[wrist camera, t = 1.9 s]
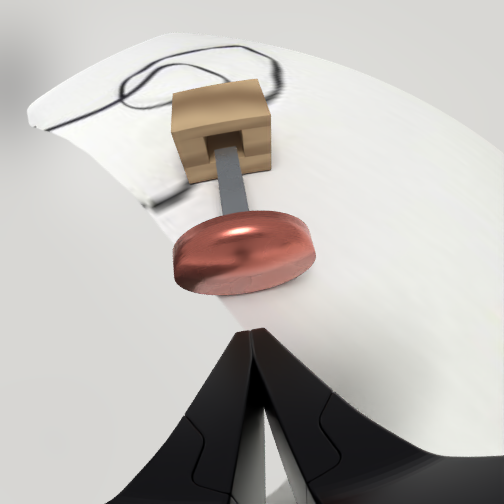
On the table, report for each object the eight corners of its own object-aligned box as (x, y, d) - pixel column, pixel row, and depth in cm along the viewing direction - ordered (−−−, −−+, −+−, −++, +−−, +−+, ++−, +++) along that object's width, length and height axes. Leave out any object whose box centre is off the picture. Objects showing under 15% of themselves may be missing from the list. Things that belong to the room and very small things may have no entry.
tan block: (271, 169, 27) (270, 115, 21) (189, 183, 27) (171, 132, 21) (259, 129, 30) (257, 78, 23) (187, 142, 30) (172, 93, 23)
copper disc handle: (306, 281, 22) (327, 225, 14) (193, 301, 22) (152, 256, 14) (277, 173, 26) (279, 97, 18) (185, 189, 26) (157, 119, 18)
